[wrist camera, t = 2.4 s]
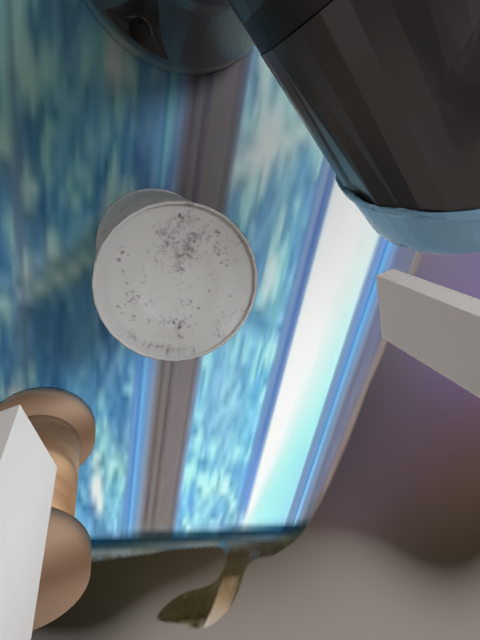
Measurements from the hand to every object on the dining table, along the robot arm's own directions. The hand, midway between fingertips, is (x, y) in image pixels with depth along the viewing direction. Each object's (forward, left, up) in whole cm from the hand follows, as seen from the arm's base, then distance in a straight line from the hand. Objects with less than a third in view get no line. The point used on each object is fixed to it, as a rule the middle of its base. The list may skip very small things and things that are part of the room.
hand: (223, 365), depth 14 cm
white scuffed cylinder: (0, 0, -22) cm, 22 cm away
